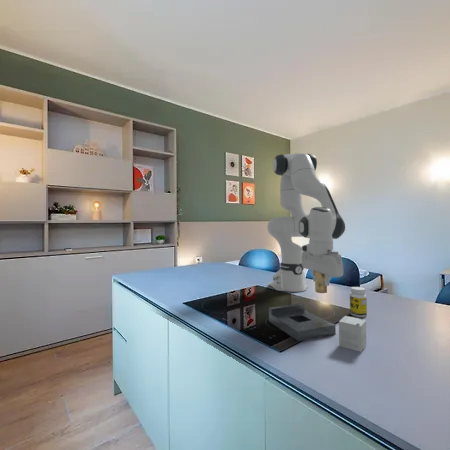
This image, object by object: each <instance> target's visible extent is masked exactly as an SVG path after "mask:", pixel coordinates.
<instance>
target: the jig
mask: <svg viewBox="0 0 450 450" xmlns="http://www.w3.org/2000/svg"><path fill="white" fill-rule="evenodd" d="M268 322H269V323H271V324H272V325H274V326H275V327H277V328H278V329H280V331H283V332H284V333H286V335H288V336H290V337H291V338H293V339H294V340H295V341H297V342H303V341H304V342H305V341H309V340H312V339H313V340H314V339H318V338H324V337H328V336H334V335H336V333H337V332H336V324H335V323H332V322H330V321H328V320H327V319H324V318H322V317H320V316H318V315H316V314H315V313H312V312H309V311H308V310H306V309H305V304H304V303H302V302H300V303H292V304H285V305H280V306H279V305H278V306H271V307H268Z"/></svg>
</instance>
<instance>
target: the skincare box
mask: <svg viewBox="0 0 450 450" xmlns="http://www.w3.org/2000/svg"><path fill="white" fill-rule="evenodd" d="M366 345H367V320H366V319H361V318H359V317H353V316H347V315H344V316H343V317H342V318H341V319H339V321H338V346H339V347H341V348H345V349H349V350H352V351H355V352H358V353H359V352H360V353H362V352H363V351H364V349H365V347H366Z"/></svg>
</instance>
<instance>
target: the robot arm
mask: <svg viewBox="0 0 450 450" xmlns="http://www.w3.org/2000/svg"><path fill="white" fill-rule="evenodd" d="M317 165H318V161H317V157H316V156H315V154H312V153H301V152H300V153H299V152H298V153H296V152H295V153H287V154H283V153H282V154H278V155H276V156H275V157H274V158H273V162H272V169H273V172H274V174H275V175H277V176H281V178H280V187H279V193H280V195H279V197H280V202H279V203H280V206H281V208H282V209H284V210H286V211H288V212H290V215H291V216H277V217H273V218H270V219H269V221H268V223H267V228H266V229H267V231H268V234H269V235H270V236H271V237H272V238H274V239H275V240H276V241H277V243H278V245H279V247H280V253H281V254H280V256H281V262H279V268H278V270H277V271H276V272H275V273H274V274H273V277H272V282H271V281H270V282H269V283H268V285H269V286H270V287H272V288H273V289H274V290H276V291H279V292H281V291H282V292H292V293H293V292H295V293H299V292H304V291H306V290H307V288H309V287H308V284H307V281H306V280H307V279H306V273H305V271H304V269H306V270H310V272H311V276H312V281H313V282H314V283H315V271H316V272H320V273H323V274H325V277H326V278H325V280H324V281H323V285H325V286H327V287H329V286H330V281H331V280H332V278H333V277H334V278H340V277H341V278H342V277H343V275H344V263H343V260H342V259H343V258H342V255H341V253H340V252H339V251H336V250H334V240H338V239H339V238H341V236H343V234H344V233H345V230H346V223H345V221H344V219H343V217H342V216H341V214H340V212H339V211H338V209H337V206H336V203H335V201H334V199H333V196H332V195H331V193H330V190H329V188H328V186H327V185H326V184H324V183H323V182H322V181H321V180H320V179H319V177H318V176H317V174H316V173H317V172H316V170H317ZM302 195H303V196H308V197H310V198H313V199H315V200H316V201H318V202H319V203H320V204H321V206H316V207H315V206H314V207H312V208H311V209H309V210H310V211H309V213H307V212H306V211H305V209H304V207H303V200H302ZM301 237H302V238H305V239H309V240H308V241H309V242H308V243H307V244H303V245H302V246H301V245H299V244H298V243H296V242H293V239H292V238H301Z"/></svg>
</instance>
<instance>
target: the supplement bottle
mask: <svg viewBox="0 0 450 450" xmlns="http://www.w3.org/2000/svg"><path fill="white" fill-rule="evenodd" d="M350 292H351V293H349V312H350V315H352V317H353V316H354V317H356V318H364V317H367V316H368V308H367V307H368V306H367V305H368V304H367V303H368V301H367V299H368V298H367V297H368V296H367V295H366V288H364V287H361V286H351V287H350Z"/></svg>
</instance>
